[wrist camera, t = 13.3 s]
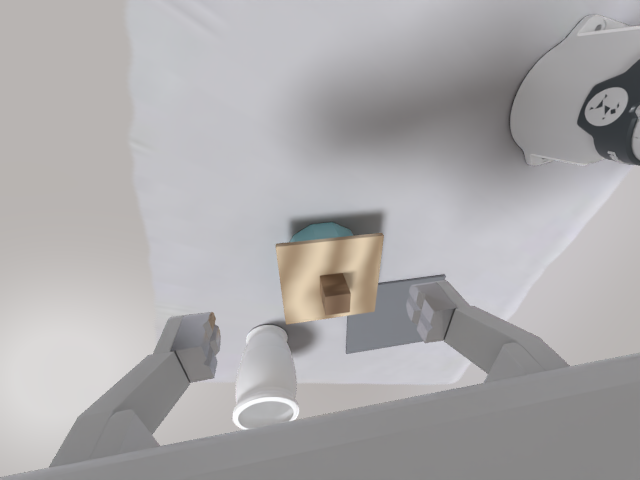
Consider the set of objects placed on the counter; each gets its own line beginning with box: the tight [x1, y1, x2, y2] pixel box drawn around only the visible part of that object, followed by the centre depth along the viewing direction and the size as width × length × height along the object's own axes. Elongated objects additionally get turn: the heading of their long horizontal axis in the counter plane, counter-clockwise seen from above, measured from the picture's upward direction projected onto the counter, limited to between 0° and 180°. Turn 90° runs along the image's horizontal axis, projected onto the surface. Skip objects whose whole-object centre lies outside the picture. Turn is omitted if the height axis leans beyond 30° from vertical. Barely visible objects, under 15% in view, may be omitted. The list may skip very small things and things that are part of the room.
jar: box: [233, 325, 299, 430], centre depth 47 cm, size 11×10×15 cm
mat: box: [346, 275, 446, 354], centre depth 56 cm, size 20×20×1 cm
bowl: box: [290, 222, 354, 242], centre depth 43 cm, size 13×13×6 cm
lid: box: [276, 233, 384, 324], centre depth 38 cm, size 15×15×5 cm
